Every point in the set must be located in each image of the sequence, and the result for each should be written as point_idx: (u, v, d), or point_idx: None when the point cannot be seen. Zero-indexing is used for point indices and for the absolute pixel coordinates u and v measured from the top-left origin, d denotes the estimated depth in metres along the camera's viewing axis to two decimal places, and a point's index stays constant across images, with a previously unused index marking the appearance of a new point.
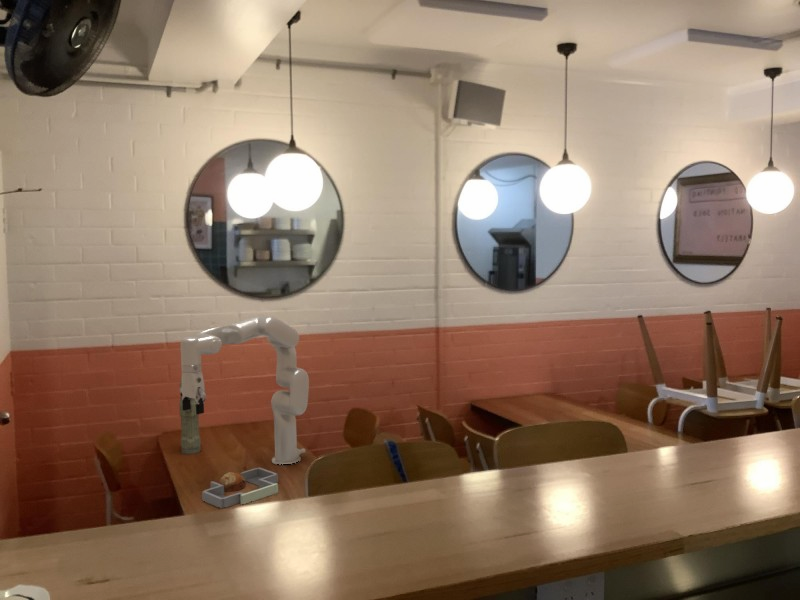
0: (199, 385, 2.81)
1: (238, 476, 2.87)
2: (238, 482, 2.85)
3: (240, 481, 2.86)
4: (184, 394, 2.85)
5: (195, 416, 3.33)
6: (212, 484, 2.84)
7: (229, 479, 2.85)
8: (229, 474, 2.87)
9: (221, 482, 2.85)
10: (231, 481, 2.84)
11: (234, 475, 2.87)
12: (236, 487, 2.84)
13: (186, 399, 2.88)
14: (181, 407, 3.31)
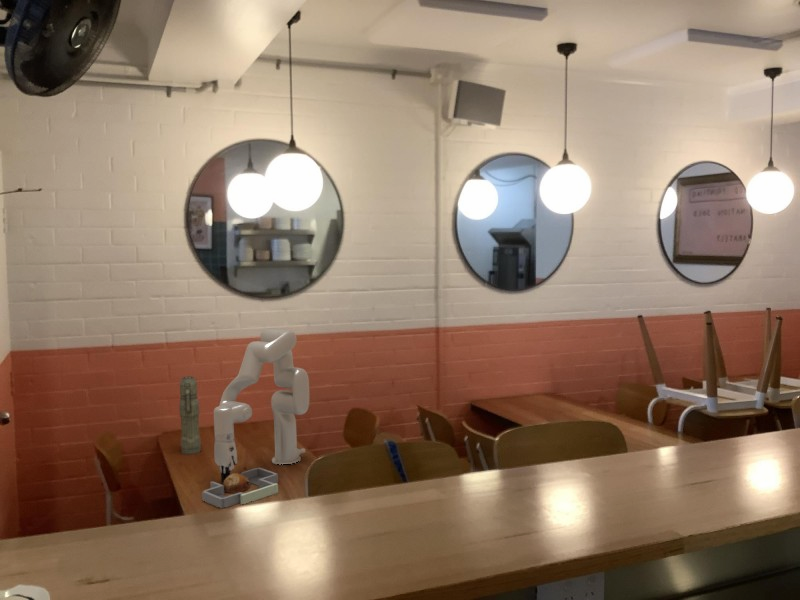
0: (232, 454, 2.87)
1: (242, 478, 2.85)
2: (242, 483, 2.83)
3: (244, 482, 2.84)
4: (217, 462, 2.90)
5: (195, 416, 3.33)
6: (212, 484, 2.84)
7: (233, 480, 2.83)
8: (233, 475, 2.85)
9: (225, 483, 2.83)
10: (234, 482, 2.82)
11: (238, 476, 2.85)
12: (240, 488, 2.83)
13: None
14: (181, 407, 3.31)
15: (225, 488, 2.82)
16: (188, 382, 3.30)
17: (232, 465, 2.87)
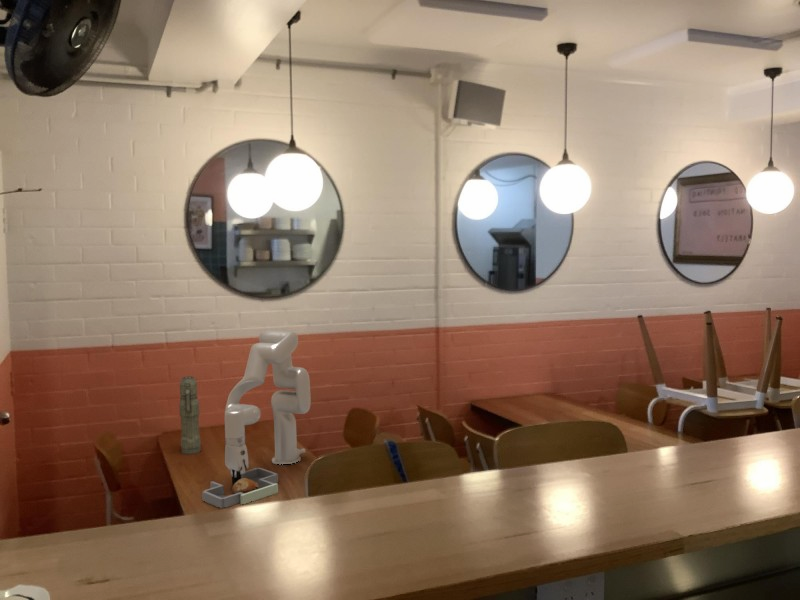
0: (243, 458, 2.81)
1: (251, 483, 2.79)
2: (250, 489, 2.77)
3: (253, 488, 2.78)
4: (228, 465, 2.85)
5: (195, 416, 3.33)
6: (212, 484, 2.84)
7: (242, 485, 2.77)
8: (242, 480, 2.79)
9: (233, 488, 2.78)
10: (243, 487, 2.77)
11: (247, 481, 2.79)
12: None
13: None
14: (181, 407, 3.31)
15: (233, 493, 2.77)
16: (188, 382, 3.30)
17: (243, 469, 2.82)
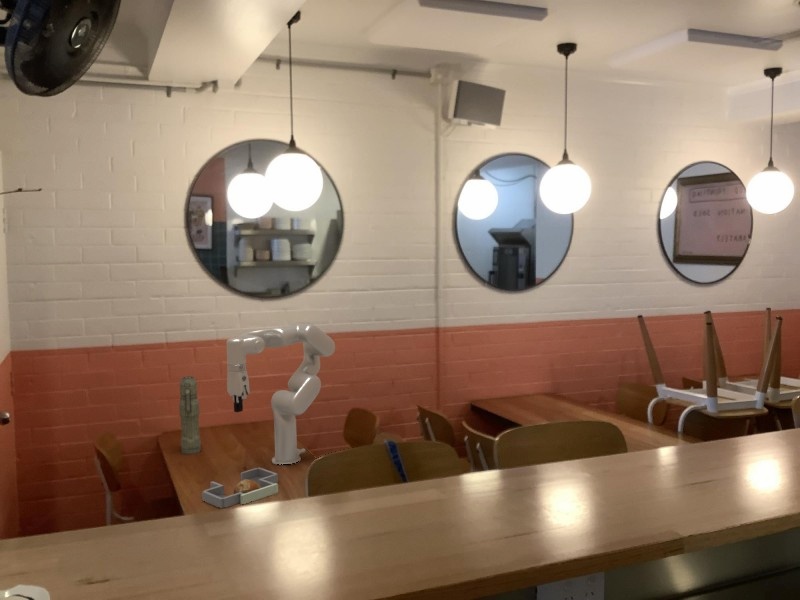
0: (244, 383, 2.96)
1: (253, 484, 2.78)
2: (252, 490, 2.76)
3: (255, 489, 2.77)
4: (230, 392, 3.00)
5: (195, 416, 3.33)
6: (212, 484, 2.84)
7: (244, 486, 2.76)
8: (244, 481, 2.78)
9: (236, 489, 2.76)
10: (245, 489, 2.75)
11: (250, 482, 2.78)
12: None
13: None
14: (181, 407, 3.31)
15: None
16: (188, 382, 3.30)
17: (245, 394, 2.97)
